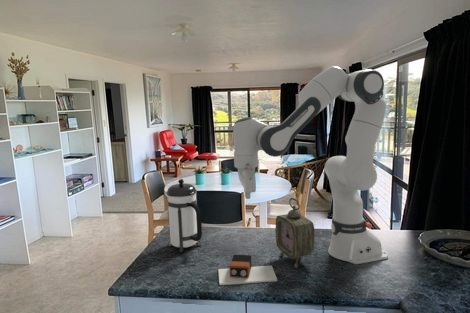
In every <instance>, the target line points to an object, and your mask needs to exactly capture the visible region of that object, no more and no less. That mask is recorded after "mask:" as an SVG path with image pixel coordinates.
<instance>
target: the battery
mask: <svg viewBox="0 0 470 313" xmlns="http://www.w3.org/2000/svg"><path fill="white" fill-rule="evenodd" d="M251 267H252V255H251V254H250V255H249V254H233V256H232V259H231V260H230V264H229V268H230V277H241V278H249V274H250V270H251Z"/></svg>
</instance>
